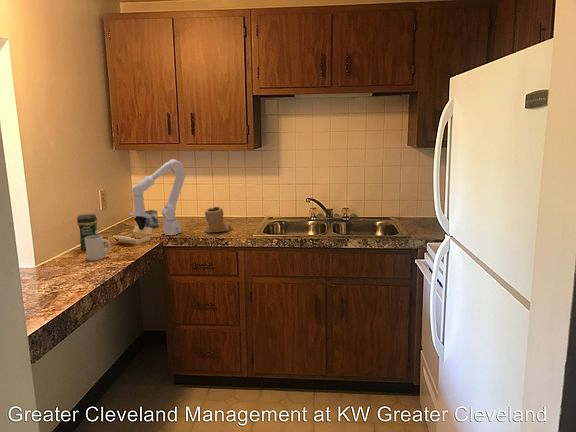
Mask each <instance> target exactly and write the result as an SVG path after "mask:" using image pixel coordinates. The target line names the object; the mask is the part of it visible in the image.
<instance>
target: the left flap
mask: <svg viewBox="0 0 576 432" xmlns="http://www.w3.org/2000/svg"><path fill="white" fill-rule="evenodd" d="M124 236H125V235H124ZM124 236H123V235H113V236H112V238H113V239H118V240H119V239H125V240H135V238H131V237H124Z"/></svg>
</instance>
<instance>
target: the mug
mask: <svg viewBox="0 0 576 432" xmlns="http://www.w3.org/2000/svg"><path fill="white" fill-rule="evenodd" d="M105 243H106V244H107V246H108V248H107V249H105ZM85 246H86V249H85V251H86V252H85V253H86V259H87V261H90V262H91V261H99V260H100V261H101V260H103V259H105V258H106V254H107V253H109V252H111V249H112V248H111V247H112V246H111V243H110V240H109V239H106V238H104V237H103V235H101V234H98V235H92V236H88V237H85Z"/></svg>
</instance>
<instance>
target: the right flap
mask: <svg viewBox="0 0 576 432" xmlns="http://www.w3.org/2000/svg"><path fill="white" fill-rule="evenodd" d="M153 230H154V228H150V227H144V228H143V229H142V230H140V229H139V227H138V225H135V226H134V229H133V231H132V233H134V234H141V235H148V236H151V234H152V232H153Z"/></svg>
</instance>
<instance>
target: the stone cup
mask: <svg viewBox="0 0 576 432" xmlns="http://www.w3.org/2000/svg"><path fill="white" fill-rule="evenodd" d="M204 216H205V219H206V222H207V225H208V227H206V228H205V232H206V233H210V234H211V233H219V232H230V231H231V228H232V224H225V223H224V211H223V208H222V207H221V206H213V207H209V208H207V209H205V211H204Z"/></svg>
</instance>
